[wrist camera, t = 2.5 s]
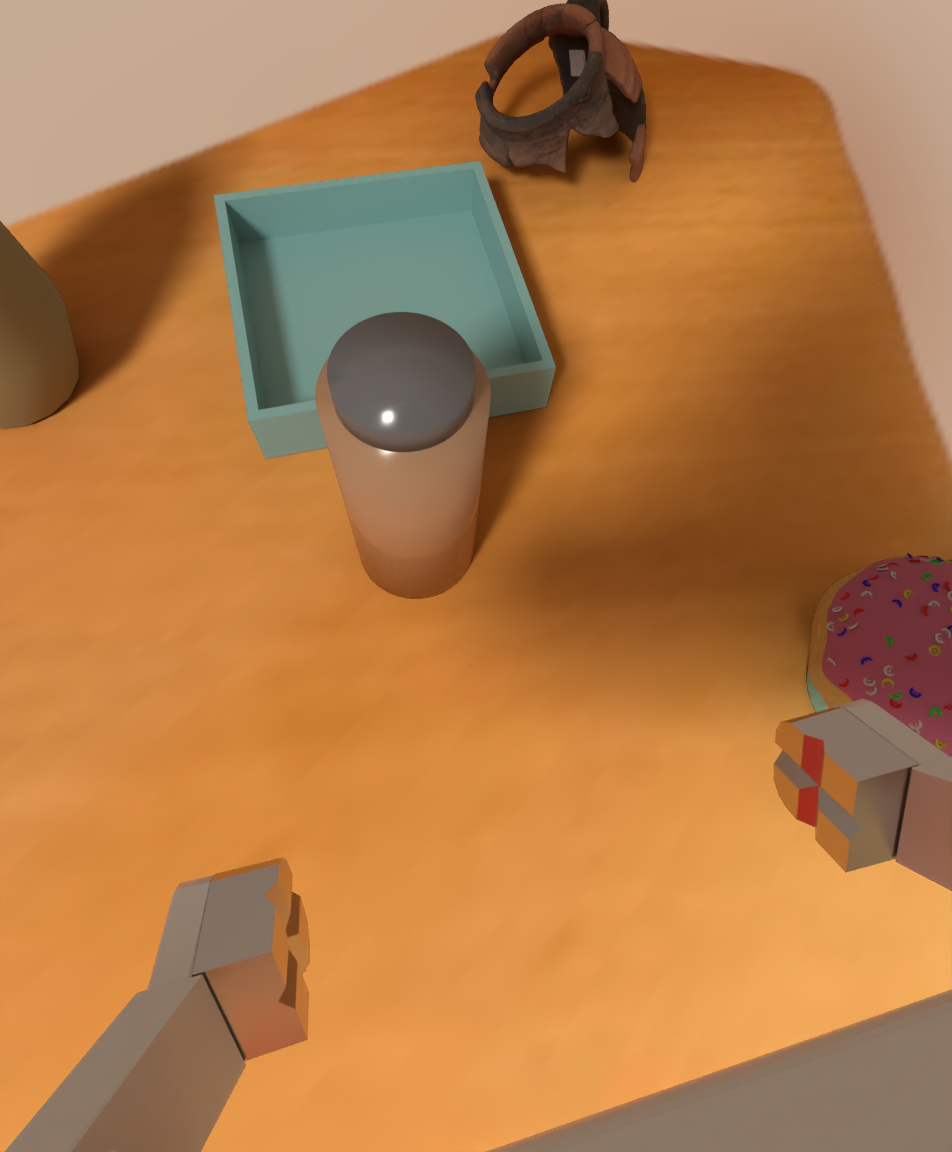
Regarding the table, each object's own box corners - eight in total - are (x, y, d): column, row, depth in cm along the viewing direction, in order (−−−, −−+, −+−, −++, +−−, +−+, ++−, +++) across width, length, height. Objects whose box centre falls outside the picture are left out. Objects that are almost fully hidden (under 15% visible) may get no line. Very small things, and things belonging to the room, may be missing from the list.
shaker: (371, 610, 28) (325, 464, 17) (349, 507, 30) (295, 313, 19) (486, 584, 29) (514, 428, 18) (458, 485, 31) (468, 286, 20)
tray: (265, 459, 31) (248, 421, 28) (231, 245, 35) (213, 195, 33) (546, 406, 33) (556, 367, 30) (477, 210, 37) (480, 160, 35)
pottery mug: (649, 226, 38) (615, 115, 31) (504, 252, 43) (445, 160, 35) (668, 48, 40) (639, -97, 33) (526, 90, 44) (474, -30, 37)
